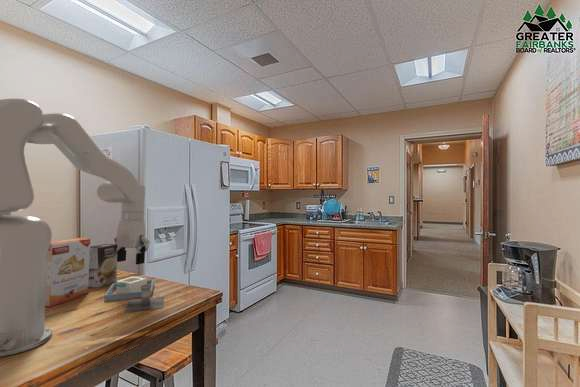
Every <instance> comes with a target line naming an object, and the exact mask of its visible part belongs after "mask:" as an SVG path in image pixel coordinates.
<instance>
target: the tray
mask: <svg viewBox="0 0 580 387" xmlns="http://www.w3.org/2000/svg"><path fill="white" fill-rule="evenodd" d="M147 285H151V288H150V297H152V296H153V291H154V286H155V279H147ZM114 291H116V282H113V283H111V285H110V286H109V288H108V289H107V291H106V293H105V294H104V295H103V297H104V299H103V301H104V302H105V303H106V302H112V301H121V300H132V299H138V298H141V297H142V291H137V292H127V293H118V294H116V293H113V292H114Z"/></svg>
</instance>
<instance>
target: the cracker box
mask: <svg viewBox="0 0 580 387" xmlns="http://www.w3.org/2000/svg"><path fill="white" fill-rule="evenodd" d="M90 247H91V238H86V237H85V238H84V237H78V238H77V237H76V238H69V239H64V240H55V241H51V242H50V246H49V249H48V254H47V260H46V282H45V308H46V307H48V308H50V307H54V306H56V305H60V304H62V303H65V302H67V301H70V300H74V299H76V298H79V297H81V296H85V295H87V294H89V287H88V279H89V256H90Z"/></svg>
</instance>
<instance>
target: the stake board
mask: <svg viewBox="0 0 580 387" xmlns="http://www.w3.org/2000/svg"><path fill="white" fill-rule="evenodd" d="M150 288H151V285H142V286H141V289H142V297H140V298H141V299H130V300H128V302H127V305H126V307H125V310H124V312H123V313H124V314H130V313H137V312H145V311H151V310H154V311H155V310H158V309H159V310H160V309H164V306H165V296H158V297H151V296H150Z"/></svg>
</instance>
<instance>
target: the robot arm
mask: <svg viewBox="0 0 580 387" xmlns="http://www.w3.org/2000/svg"><path fill="white" fill-rule="evenodd" d="M26 144H35V145H54V146H55V147H56V148H57V149H58V150H59V152H61V154H63V156H65V158H66V159H68V161H69V162H70V163H71V164H72V165H73V166H74V167H75V168H76V169H78V171H82V172H84V173H86V174H89V175H91V176H95V177H98V178H101V179H103V180H106V181H104V182H102V183H101V184H100V185H99V186H98V187H97V189H96V195H97V198H99V199H100V200H101V201H102V202H104V203H110V204H112V203H113V204H115V203H116V204H117V203H118V204H120V203H121V207H120V208H121V210H120V212H121V213H120V219H119V221H118V226H117V233H116V237H115V238H113V240H114V244H115V246H116V248H117V249H116V250H117V263H122V262H125V261H126V260H127V248H128V249H134V248H135V250H136V252H137V253H135V265H137V266H138V265H142V264H145V259H146V258H145V257H146V256H145V255H146V254H145V253H146V252H147V250H148V249H149V246H150V243H151V241H150V239H148V238H146V224H145V204H146V202H145V201H146V200H145V198H146V187H145V185H144V184H142V183H139V181H138V180H137V178H136V177H135V175H134V174H133V173H132V172H131V171H130V170H129V169H128V168H127V167H125V166H124V165H123V164H121V163H119V162H118V161H116V160H115V159H113V158H112V157H111V156H108V155H106V154H105V153H104V152H103V151H102V150H101V149H100V148H99V146H98V145H97V144H96V143H95V142H94V140H93V139H92V138H91V136H89V134H88V133H87V132H86V130H85V129H84V128H83V126H82V125H81V124H80V122H78V120H77V119H76V118H75V117H73V116H72V115H69V114H67V113H60V112H59V113H58V112H57V113H55V112H54V113H43V110H42V108H41V107H40V106H39V105H38V104H37V103H35V102H34V101H31V100H29V99H24V98H2V99H0V357H6V356H11V355H16V354H20V353H23V352H26V351H28V350H31V349H34V348H37V347H39V346H40V345H43V344H45V343H46V342H47V341H49V340H50V339H51V337H52V336H53V330H52V329H51V328H50V327H45V316H46V315H45V312H46V311H45V310H46V306H45V282H46V260H47V254H48V249H49V246H50V242H52V238H53V237H52V236H53V235H52V234H53V233H52V228H51V227H50V225H49V224H48V223H47V222H46V221H45V220H43V219H42V218H39V217H36V216H32V215H31V216H30V215H18V214H17V215H15V214H12V213H13V212H20V211H24V210H26V209H28V208H29V207H30V206H31V205H32V204H33V203H34V199H35V194H34V192H35V191H34V188H33V185H32V180H31V177H30V174H29V171H28V166H27V163H26V162H27V161H26V156H25V146H26Z"/></svg>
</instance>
